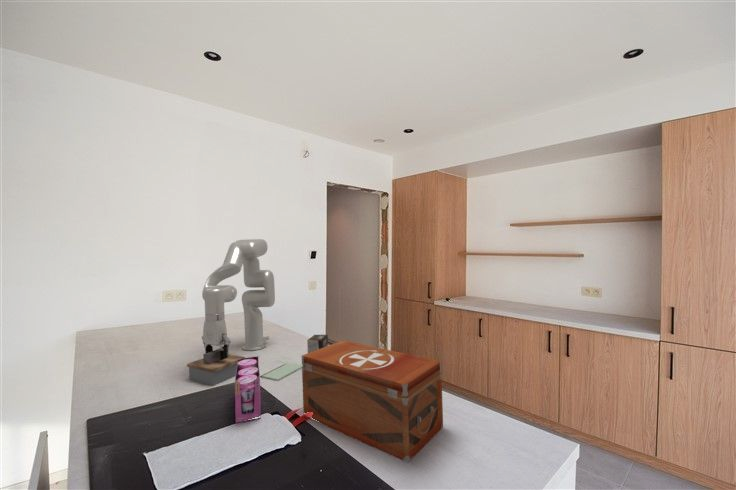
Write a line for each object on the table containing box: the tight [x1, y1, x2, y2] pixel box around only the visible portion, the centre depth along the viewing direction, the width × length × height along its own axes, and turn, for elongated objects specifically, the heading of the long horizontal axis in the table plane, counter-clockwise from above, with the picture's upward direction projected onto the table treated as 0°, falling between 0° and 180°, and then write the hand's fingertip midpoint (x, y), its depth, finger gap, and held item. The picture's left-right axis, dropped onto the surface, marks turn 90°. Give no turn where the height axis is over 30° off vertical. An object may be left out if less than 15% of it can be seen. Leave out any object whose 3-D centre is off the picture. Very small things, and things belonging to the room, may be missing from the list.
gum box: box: [234, 356, 262, 424], centre depth 118 cm, size 24×8×14 cm, turn 19°
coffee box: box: [306, 334, 329, 353], centre depth 145 cm, size 9×6×16 cm
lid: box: [186, 348, 246, 373], centre depth 144 cm, size 16×16×6 cm
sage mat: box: [260, 360, 303, 382], centre depth 150 cm, size 17×17×1 cm
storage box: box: [188, 363, 237, 387], centre depth 144 cm, size 15×15×6 cm
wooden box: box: [301, 340, 444, 464], centre depth 106 cm, size 20×41×20 cm, turn 51°
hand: (216, 357), depth 144 cm, fingers open, 8 cm apart
